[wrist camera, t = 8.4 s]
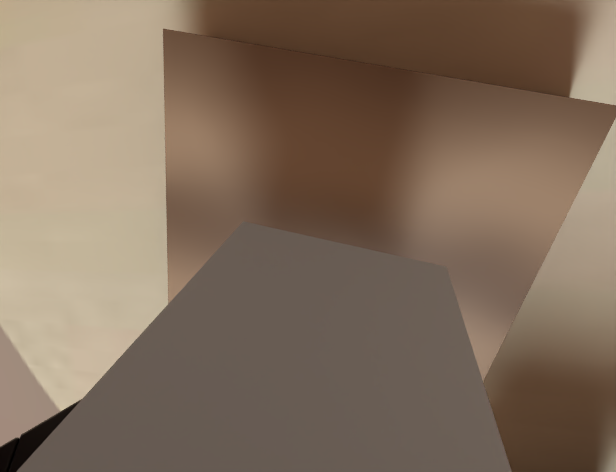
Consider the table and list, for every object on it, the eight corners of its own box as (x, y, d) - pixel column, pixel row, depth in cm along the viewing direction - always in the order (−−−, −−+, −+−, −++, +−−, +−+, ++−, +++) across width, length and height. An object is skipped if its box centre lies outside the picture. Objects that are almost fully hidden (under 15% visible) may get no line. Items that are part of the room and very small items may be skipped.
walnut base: (447, 375, 18) (459, 428, 15) (198, 313, 19) (169, 353, 17) (569, 97, 12) (621, 106, 10) (206, 36, 14) (163, 28, 11)
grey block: (392, 411, 11) (405, 882, 5) (230, 368, 11) (43, 740, 5) (446, 266, 9) (613, 789, 2) (243, 221, 9) (-60, 555, 3)
